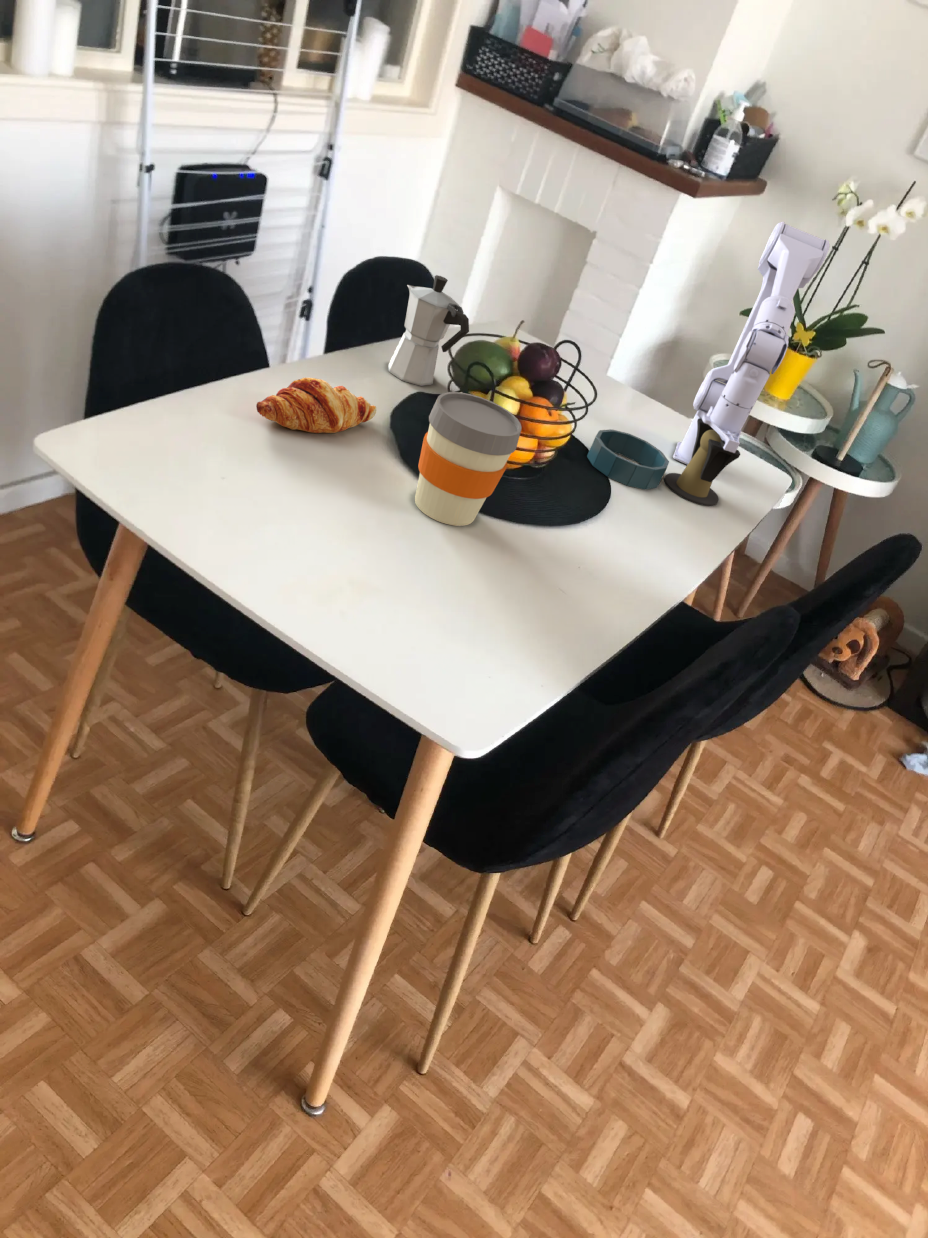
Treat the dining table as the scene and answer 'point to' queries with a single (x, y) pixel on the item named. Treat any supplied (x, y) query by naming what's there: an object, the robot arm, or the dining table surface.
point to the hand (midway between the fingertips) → (701, 470)
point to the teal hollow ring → (624, 469)
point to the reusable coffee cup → (463, 456)
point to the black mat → (706, 501)
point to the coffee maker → (426, 332)
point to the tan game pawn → (697, 468)
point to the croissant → (316, 407)
